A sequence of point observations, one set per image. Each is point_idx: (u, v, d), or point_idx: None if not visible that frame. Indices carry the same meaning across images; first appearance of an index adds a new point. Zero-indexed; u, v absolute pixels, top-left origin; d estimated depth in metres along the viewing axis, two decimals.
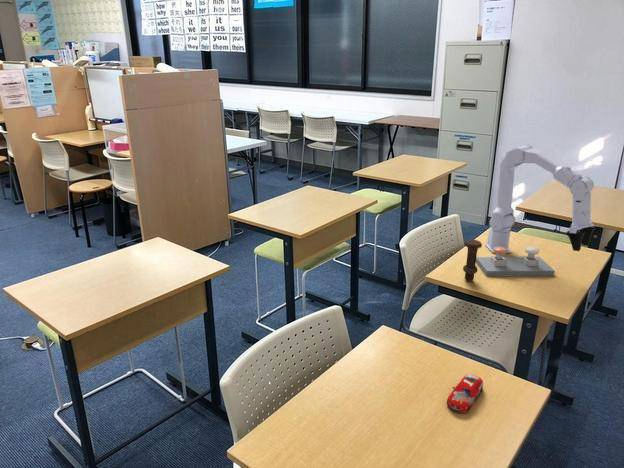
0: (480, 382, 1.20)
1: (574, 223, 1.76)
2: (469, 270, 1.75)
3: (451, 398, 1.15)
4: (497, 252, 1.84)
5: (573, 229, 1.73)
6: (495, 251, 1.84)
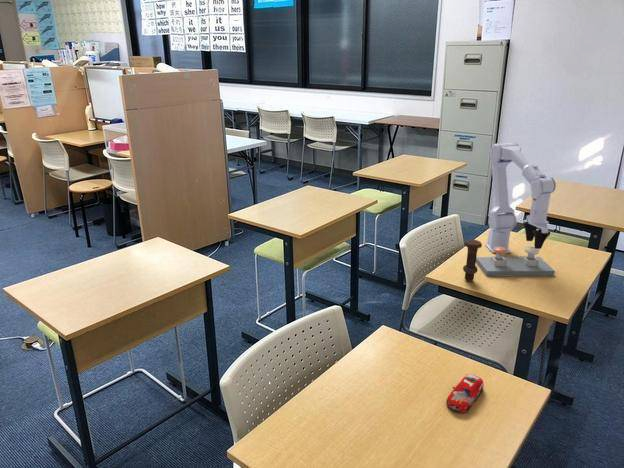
0: (481, 382, 1.20)
1: (536, 222, 1.79)
2: (469, 270, 1.75)
3: (451, 398, 1.15)
4: (497, 252, 1.84)
5: (546, 229, 1.74)
6: (495, 251, 1.84)
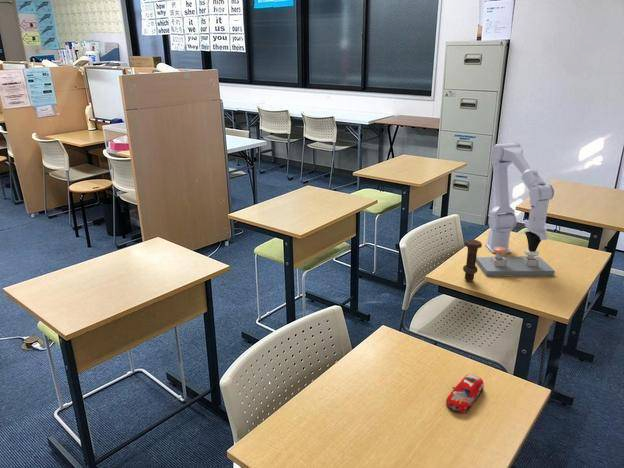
0: (481, 382, 1.20)
1: (535, 229, 1.80)
2: (469, 270, 1.75)
3: (451, 398, 1.15)
4: (497, 252, 1.84)
5: (545, 236, 1.75)
6: (495, 251, 1.84)
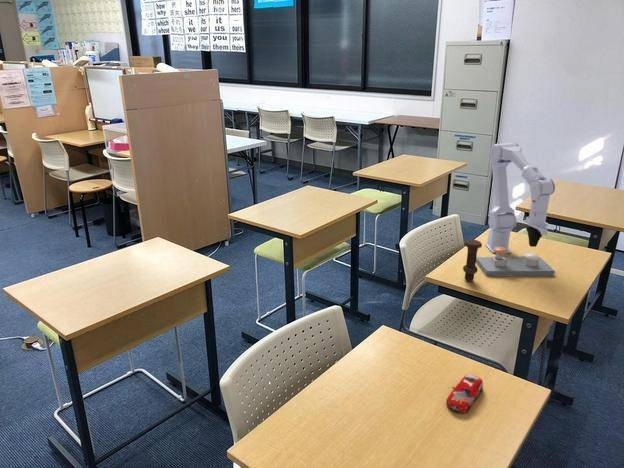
0: (480, 382, 1.20)
1: (536, 224, 1.79)
2: (469, 270, 1.75)
3: (451, 398, 1.15)
4: (497, 252, 1.84)
5: (545, 231, 1.75)
6: (495, 251, 1.84)
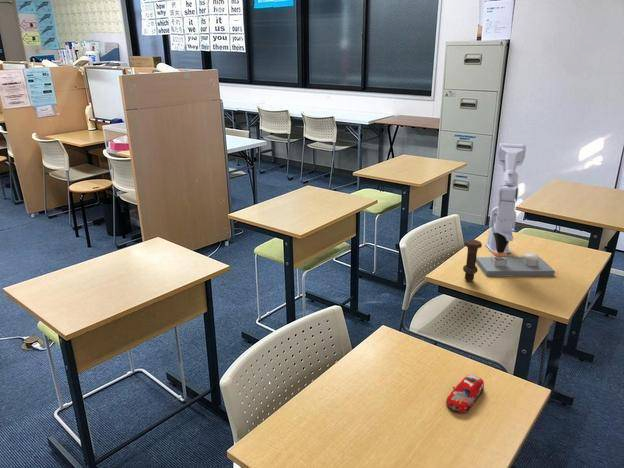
0: (481, 382, 1.20)
1: (502, 230, 1.80)
2: (469, 270, 1.75)
3: (451, 398, 1.15)
4: (497, 255, 1.84)
5: (511, 237, 1.76)
6: (495, 254, 1.85)
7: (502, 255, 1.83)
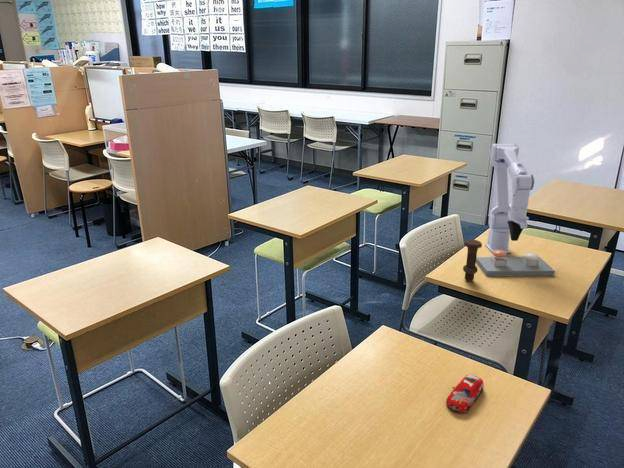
0: (481, 382, 1.20)
1: (516, 218, 1.82)
2: (469, 270, 1.75)
3: (451, 398, 1.15)
4: (497, 255, 1.84)
5: (525, 225, 1.78)
6: (495, 254, 1.85)
7: (502, 255, 1.83)
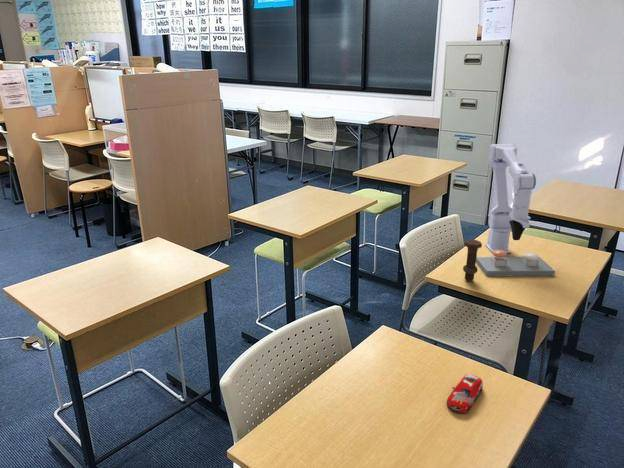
0: (480, 382, 1.20)
1: (518, 217, 1.82)
2: (469, 270, 1.75)
3: (451, 398, 1.15)
4: (497, 255, 1.84)
5: (527, 224, 1.78)
6: (495, 254, 1.85)
7: (502, 255, 1.83)
